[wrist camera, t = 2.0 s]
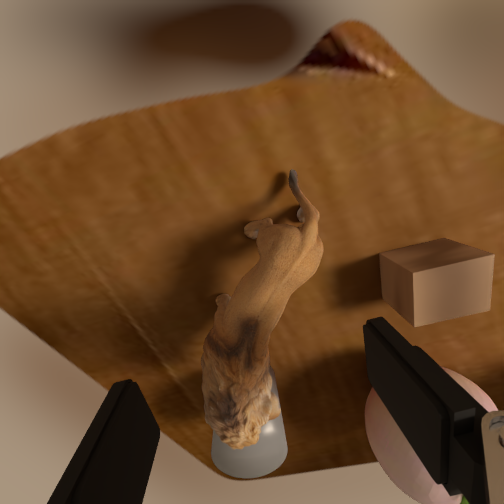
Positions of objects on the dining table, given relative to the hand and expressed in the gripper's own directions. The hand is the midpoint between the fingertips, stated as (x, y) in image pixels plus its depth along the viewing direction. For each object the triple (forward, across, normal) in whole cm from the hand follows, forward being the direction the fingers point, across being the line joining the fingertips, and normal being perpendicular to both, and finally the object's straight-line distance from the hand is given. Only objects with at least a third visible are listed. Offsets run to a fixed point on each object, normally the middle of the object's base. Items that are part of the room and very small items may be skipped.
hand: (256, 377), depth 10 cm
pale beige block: (+9, -13, +2) cm, 16 cm away
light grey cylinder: (+9, +2, +10) cm, 14 cm away
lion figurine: (+10, -1, 0) cm, 10 cm away
